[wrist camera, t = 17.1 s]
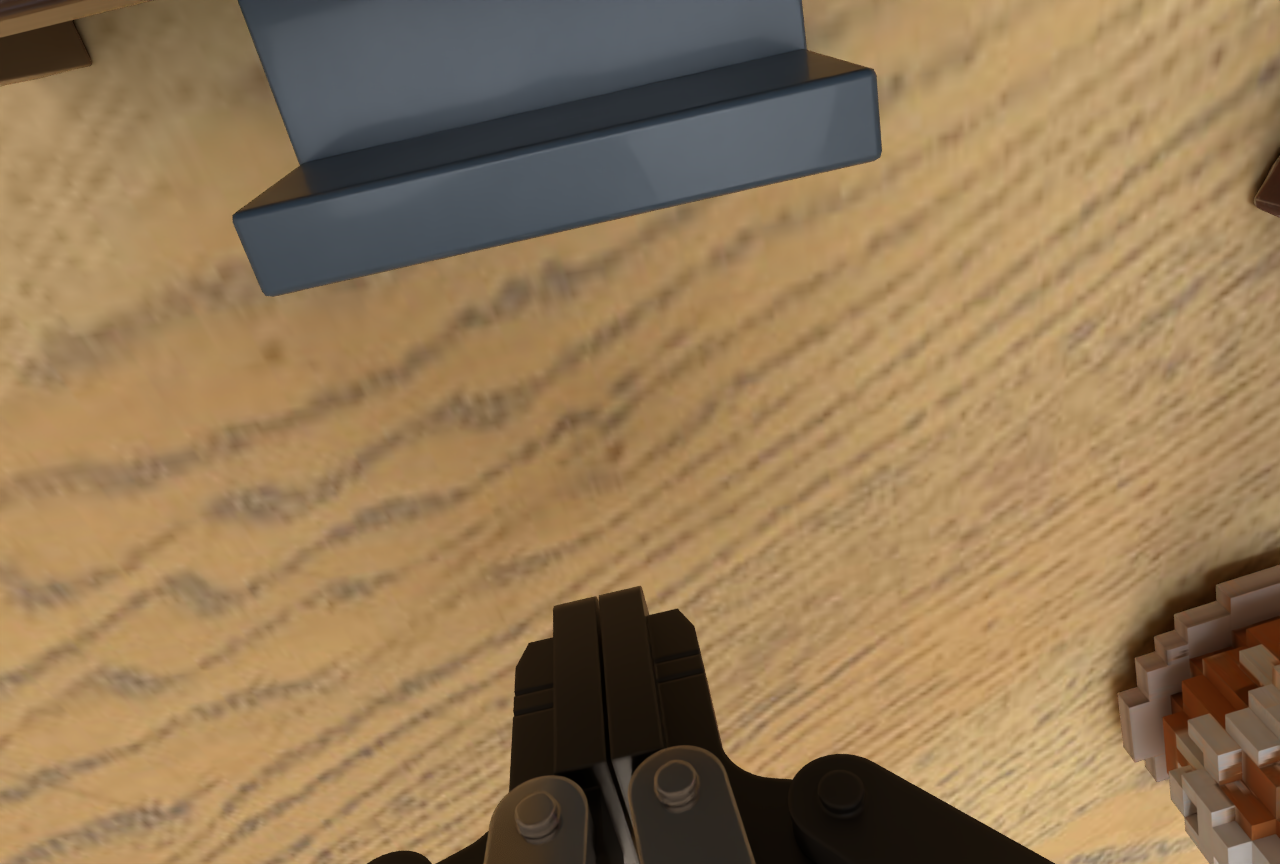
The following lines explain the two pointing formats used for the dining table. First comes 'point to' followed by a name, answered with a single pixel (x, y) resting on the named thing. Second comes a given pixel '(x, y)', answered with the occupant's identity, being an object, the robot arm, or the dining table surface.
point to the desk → (45, 36)
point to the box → (1270, 191)
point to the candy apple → (1216, 719)
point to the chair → (529, 121)
